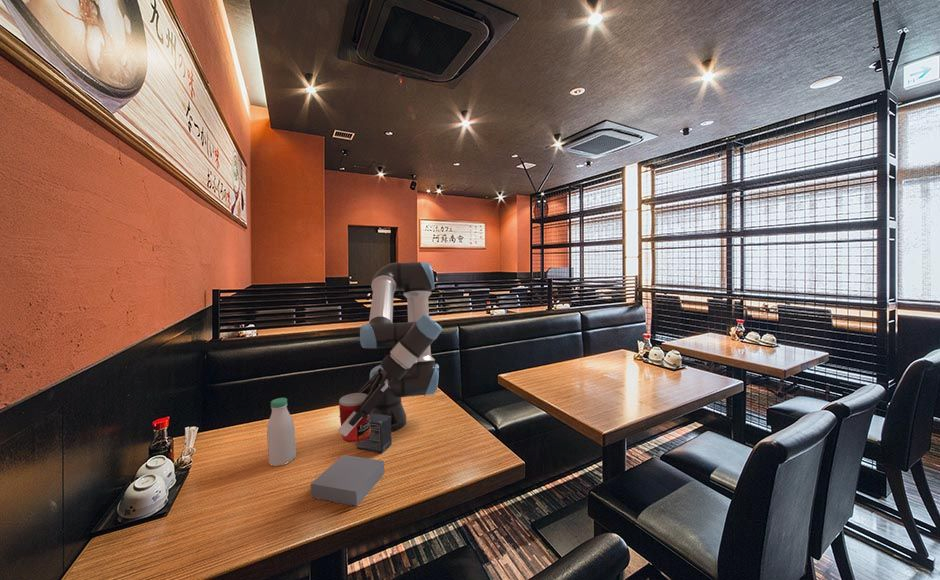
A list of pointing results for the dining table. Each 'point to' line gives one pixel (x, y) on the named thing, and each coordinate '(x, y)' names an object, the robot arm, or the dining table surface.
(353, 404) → the canned food
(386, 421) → the small box
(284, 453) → the milk bottle
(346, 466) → the slate stand
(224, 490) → the dining table surface
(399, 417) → the robot arm
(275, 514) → the dining table surface
